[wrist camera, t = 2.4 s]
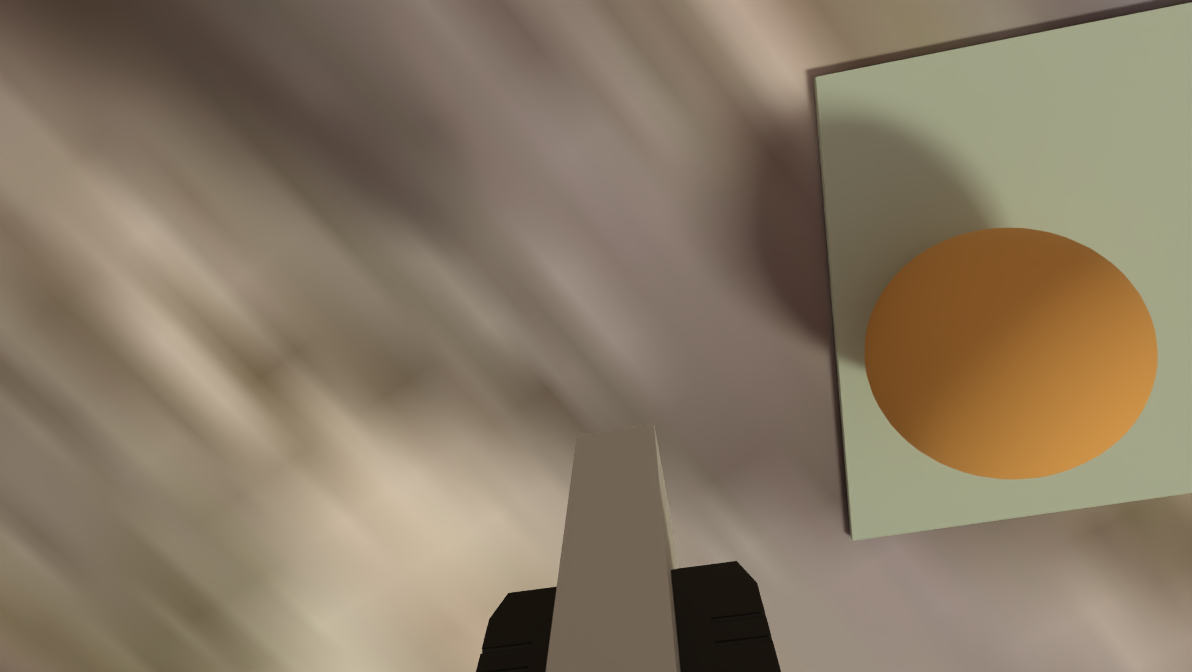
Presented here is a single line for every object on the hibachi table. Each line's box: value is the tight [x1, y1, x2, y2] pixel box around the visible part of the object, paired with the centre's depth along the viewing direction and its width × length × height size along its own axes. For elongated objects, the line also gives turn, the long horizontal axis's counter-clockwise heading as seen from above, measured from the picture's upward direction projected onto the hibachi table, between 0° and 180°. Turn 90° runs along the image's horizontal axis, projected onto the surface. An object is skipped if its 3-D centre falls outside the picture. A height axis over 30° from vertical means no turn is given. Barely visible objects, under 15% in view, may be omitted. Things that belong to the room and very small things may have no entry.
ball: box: [865, 228, 1158, 480], centre depth 17 cm, size 6×6×6 cm
